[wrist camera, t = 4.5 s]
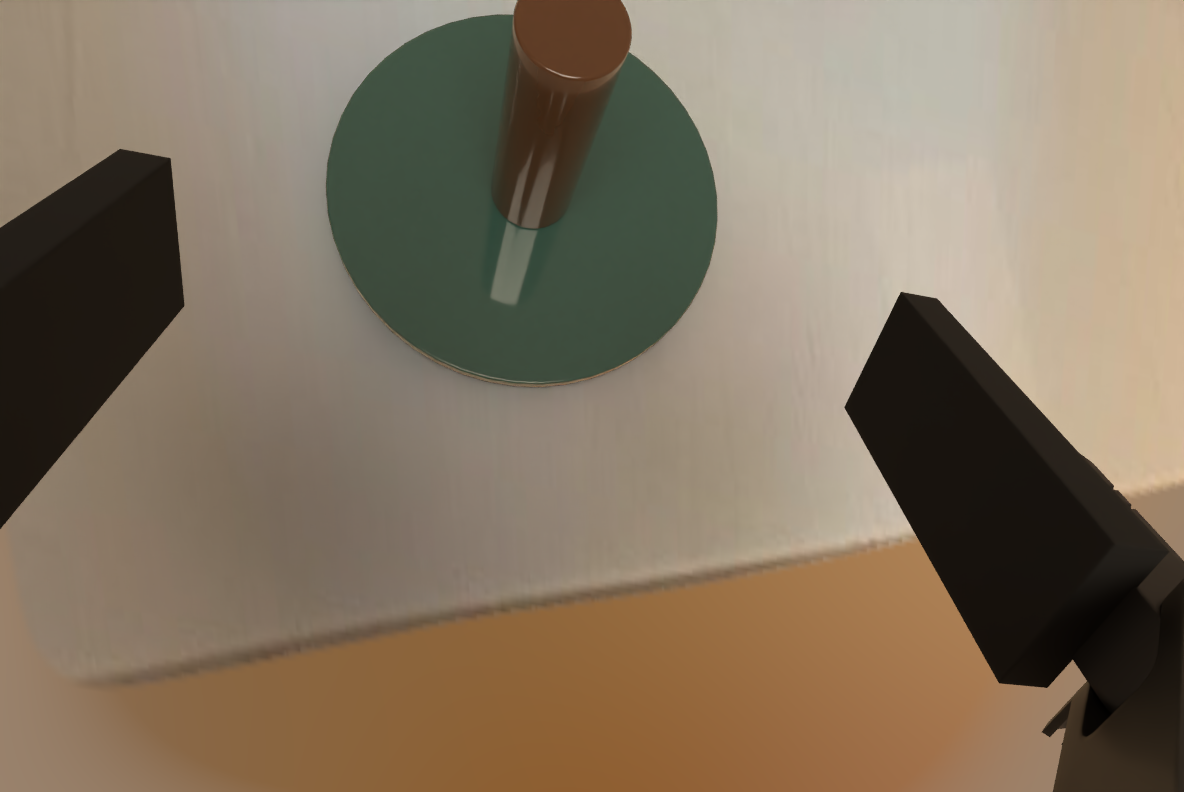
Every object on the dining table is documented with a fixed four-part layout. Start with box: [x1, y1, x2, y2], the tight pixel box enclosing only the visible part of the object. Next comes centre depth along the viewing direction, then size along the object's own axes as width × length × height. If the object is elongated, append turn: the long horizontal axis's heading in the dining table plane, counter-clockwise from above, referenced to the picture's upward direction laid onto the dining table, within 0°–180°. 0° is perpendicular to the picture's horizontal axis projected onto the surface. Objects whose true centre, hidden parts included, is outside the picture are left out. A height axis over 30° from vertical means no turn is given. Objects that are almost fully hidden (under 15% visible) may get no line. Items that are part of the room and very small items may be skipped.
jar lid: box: [326, 0, 717, 387], centre depth 23 cm, size 14×14×10 cm
